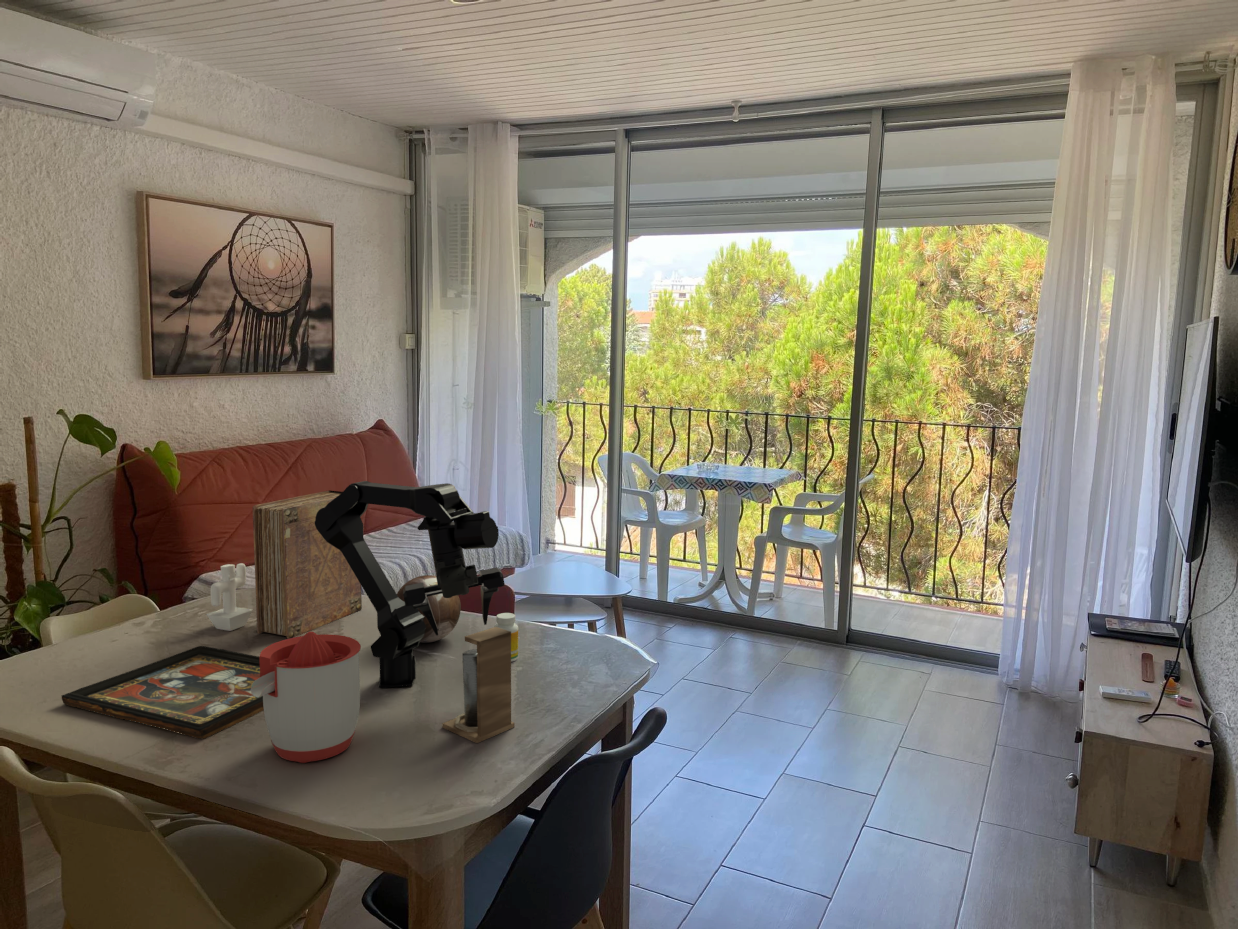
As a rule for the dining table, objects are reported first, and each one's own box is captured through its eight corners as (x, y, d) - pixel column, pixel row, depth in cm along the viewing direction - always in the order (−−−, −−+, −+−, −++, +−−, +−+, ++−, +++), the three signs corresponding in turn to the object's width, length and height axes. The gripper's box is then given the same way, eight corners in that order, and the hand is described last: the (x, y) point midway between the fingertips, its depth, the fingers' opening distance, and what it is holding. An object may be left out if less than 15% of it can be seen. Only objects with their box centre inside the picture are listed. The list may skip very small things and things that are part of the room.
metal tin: (459, 725, 152) (457, 655, 151) (473, 715, 156) (471, 648, 155) (481, 728, 150) (479, 658, 149) (494, 719, 154) (492, 650, 153)
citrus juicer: (237, 750, 143) (231, 632, 141) (336, 719, 155) (333, 611, 153) (277, 784, 132) (272, 658, 130) (380, 749, 144) (378, 632, 142)
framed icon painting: (340, 672, 179) (340, 659, 179) (219, 746, 146) (218, 730, 145) (187, 653, 189) (186, 640, 189) (41, 718, 156) (40, 702, 155)
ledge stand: (442, 727, 153) (441, 630, 150) (479, 712, 159) (479, 619, 157) (477, 743, 147) (476, 642, 145) (514, 727, 153) (514, 630, 151)
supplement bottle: (492, 663, 184) (492, 619, 183) (493, 654, 189) (493, 612, 188) (518, 663, 185) (518, 619, 183) (518, 654, 190) (518, 611, 189)
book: (287, 640, 197) (282, 509, 193) (256, 634, 201) (251, 505, 197) (362, 609, 220) (359, 492, 216) (333, 605, 224) (329, 489, 220)
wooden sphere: (428, 656, 187) (427, 589, 185) (378, 643, 195) (377, 578, 193) (474, 637, 200) (474, 574, 198) (426, 626, 208) (425, 564, 206)
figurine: (202, 630, 202) (199, 567, 200) (234, 619, 211) (231, 558, 209) (226, 635, 200) (223, 571, 198) (257, 623, 208) (255, 562, 206)
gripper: (397, 568, 155) (413, 652, 157) (501, 547, 159) (515, 629, 161) (397, 557, 166) (411, 636, 167) (494, 538, 170) (507, 615, 172)
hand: (461, 629), depth 167 cm, fingers open, 9 cm apart
